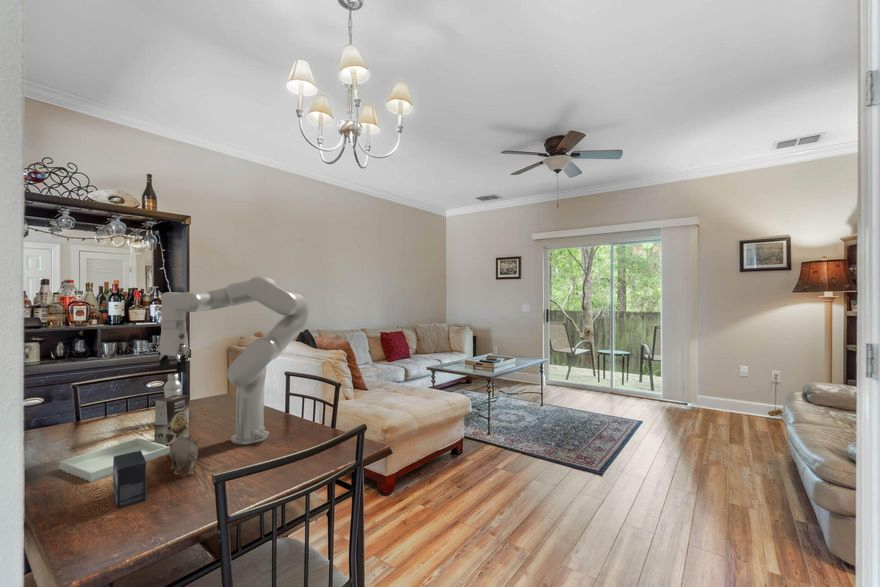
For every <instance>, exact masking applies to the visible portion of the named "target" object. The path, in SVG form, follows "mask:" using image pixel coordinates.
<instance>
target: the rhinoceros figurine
mask: <svg viewBox="0 0 880 587" xmlns="http://www.w3.org/2000/svg"><path fill="white" fill-rule="evenodd" d="M192 436H193V435H192V434H188V437H187V438H184V437H182V435H181V437H179V438H178V440H175V442H174V443H173V444H171V445H170V446H169V447H170V454H169V458H170V460H171V467H170V470H172V469H174V470H173V473H179V472H180V473H181V472H182V470H183V468H184V467H185V466H187V465H189V469H188V473H187V475H188V474H189V475H188V476H190V475H192V476H193V474H194V475H195V473H194V466H195V464H196V462H197V460H198V455H199V448H198V443H199V442H200V439H201V437H198V438H197V440H195V439H191V438H192ZM175 468H176V469H175ZM173 473H172V474H173ZM180 473H179V474H180Z"/></svg>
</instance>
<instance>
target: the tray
mask: <svg viewBox="0 0 880 587" xmlns="http://www.w3.org/2000/svg"><path fill="white" fill-rule="evenodd" d="M170 447H171V446H170V445H168V446H166V445H162V444H158V443H155V442H154V441H151V440H147V439H143V438H139V437H137V438H133V439H130V440H128V441H124V442H120V443H117V444H113V445H110V446H107V447H104V448H100V449H98V450H94V451H93V450H92V451H89V452H87V453H84V454H83V453H82V454H79V455H77V456H73V457H70V458H66V459H62V460H59V469H61V470H63V471H62V472H64V471H65V472H64V473H67V474H69V473H70V474H69V475H72V474H73V475H72V476H74V475H75V476H74V477H77V476H78V477H77V478H79V477H80V479H82V478H83V479H82V480H84V481H87V480H88V481H87V482H90V483H92V482H95V481H98V480H101V479H104V478H106V477H110V476H113V460H114V456H118V455H123V454H127V453H131V452H135V451H139V450H141V452H142V454H143V456H144V458H145V460H146V463H148V462H147V461H149V462H151V461H150V460H152V461H154V460H153V459H155V460H157V459H156V458H158V457H161V456H163V457H166V456H169V455H170ZM168 454H169V455H168ZM165 455H166V456H165ZM161 458H162V457H161ZM158 459H159V458H158ZM59 469H58V470H59ZM61 470H60V471H61Z"/></svg>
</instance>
